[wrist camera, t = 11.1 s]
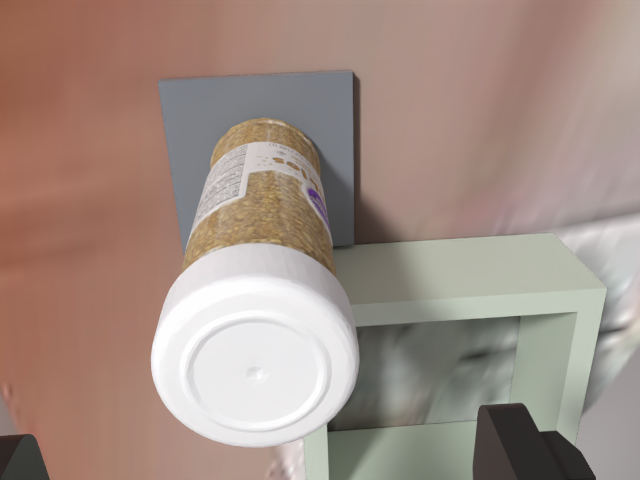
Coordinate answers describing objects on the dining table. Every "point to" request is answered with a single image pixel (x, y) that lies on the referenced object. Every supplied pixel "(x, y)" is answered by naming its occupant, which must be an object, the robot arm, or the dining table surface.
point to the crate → (457, 304)
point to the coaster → (253, 103)
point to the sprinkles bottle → (258, 299)
